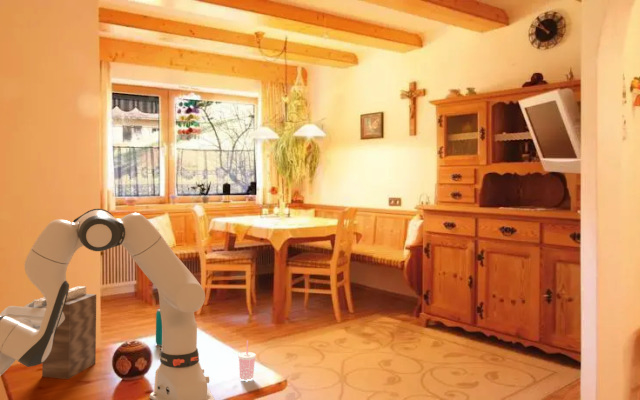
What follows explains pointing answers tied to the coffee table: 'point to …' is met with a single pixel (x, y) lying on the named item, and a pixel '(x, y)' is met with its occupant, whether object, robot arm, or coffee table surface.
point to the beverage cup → (246, 364)
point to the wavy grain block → (73, 340)
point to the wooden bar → (71, 295)
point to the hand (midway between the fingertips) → (45, 301)
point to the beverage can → (158, 328)
